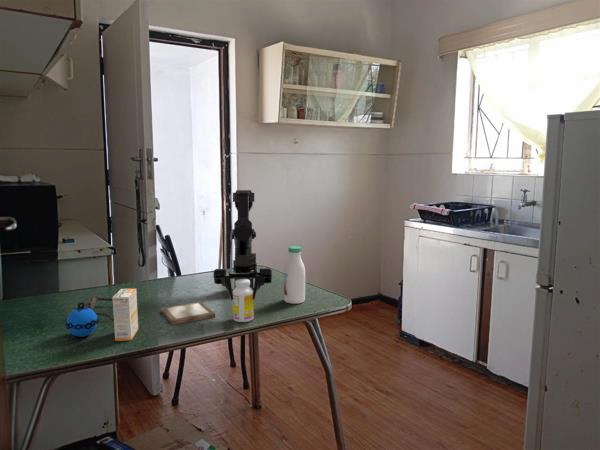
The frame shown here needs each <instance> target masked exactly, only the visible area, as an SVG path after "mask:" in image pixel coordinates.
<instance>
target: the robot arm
mask: <svg viewBox="0 0 600 450" xmlns="http://www.w3.org/2000/svg"><path fill="white" fill-rule="evenodd" d="M253 202H254V203H255V192H252V190H251V189H245V190H243V189H236V190H235V192H232V203H234V207H235V209H236V210H237V220H236V221H234V223H233V225H234V227H233V229H231V240H233V242H234V260H233V259H232V272H229V271H227V268H215V269H213V282H214V284H215V285H221V286H222V287H225V288H226V291H227V293H228V295H229V298H230V301H233V297H232V292H233V289H234V288H236V285H235V281H236V280H238V279H248V280H250V285H249V287H250V288H252V289H253V301H254V300H256V296H257V294H258V293H259V292H258V291H260V288H261V286H265V284H271V283H272V280H273V279H272V276H273V272H272V269H271V268H270V267H259V272H258V271H257V270H258V269H257V268H258V267H257V265H258V263H257V253H256V252H255V253H254V252H253V251H252V250H253V249H252V247H253V246H252V245H253V240H255V238H257V232H256V231H255V229H254V228H253V223H252V221H251V220H250V215H249V214H250V211H251V210H252V208H253ZM232 280H234V281H233V282H234V283H233V284H234V287H233V289H232V282H231V281H232Z"/></svg>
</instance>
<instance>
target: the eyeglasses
mask: <svg viewBox="0 0 600 450" xmlns="http://www.w3.org/2000/svg"><path fill="white" fill-rule="evenodd" d="M97 301H109V302H110V301H111V302H113V298H109V297H98V295H96V294H95V295H93V296H92V297H91V300H90V302H87V303H86V301H84V302H81V303H84V307H86V308H89V309H91V310H93V309H94V308H96V306H97V304H98V303H97ZM81 306H82V304H81V305H80V307H81ZM88 306H89V307H88ZM77 308H79V307H78V306H77ZM95 313H96V315H97V316H105V317H108V318H109V319H110V320H111V321H113V322H114V317H112V316H111V315H109V314H107V313H104V312H103V313H102V312H95Z"/></svg>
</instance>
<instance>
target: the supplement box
mask: <svg viewBox="0 0 600 450" xmlns="http://www.w3.org/2000/svg"><path fill="white" fill-rule="evenodd" d="M137 294H138V293H137V288H120V289H119V290H118V292H116V293H115V294H114V295H113V296H112V298H111V299H113V301H112V308H113V309H112V311H113V312H112V314H113V319H114V321H113V327H114V340H115V341H116V342H119V341H120V342H121V341H123V342H124V341H132V340H133V339H134V337H135V336H136V334H137V332H138V331H139V317H138V298H137V297H138V295H137Z"/></svg>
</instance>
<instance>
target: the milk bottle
mask: <svg viewBox="0 0 600 450" xmlns="http://www.w3.org/2000/svg"><path fill="white" fill-rule="evenodd" d="M287 250H288V253H287V254H288V258H287V260H286V263H285V266H284V270H283V301H284V302H285V303H288V304H293V305H297V304H298V305H299V304H301V303H304V302H305V301H306V268H305V264H304V262H303V260H302V257H301V254H302V247H301V246H297V245H292V246H288V249H287Z"/></svg>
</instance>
